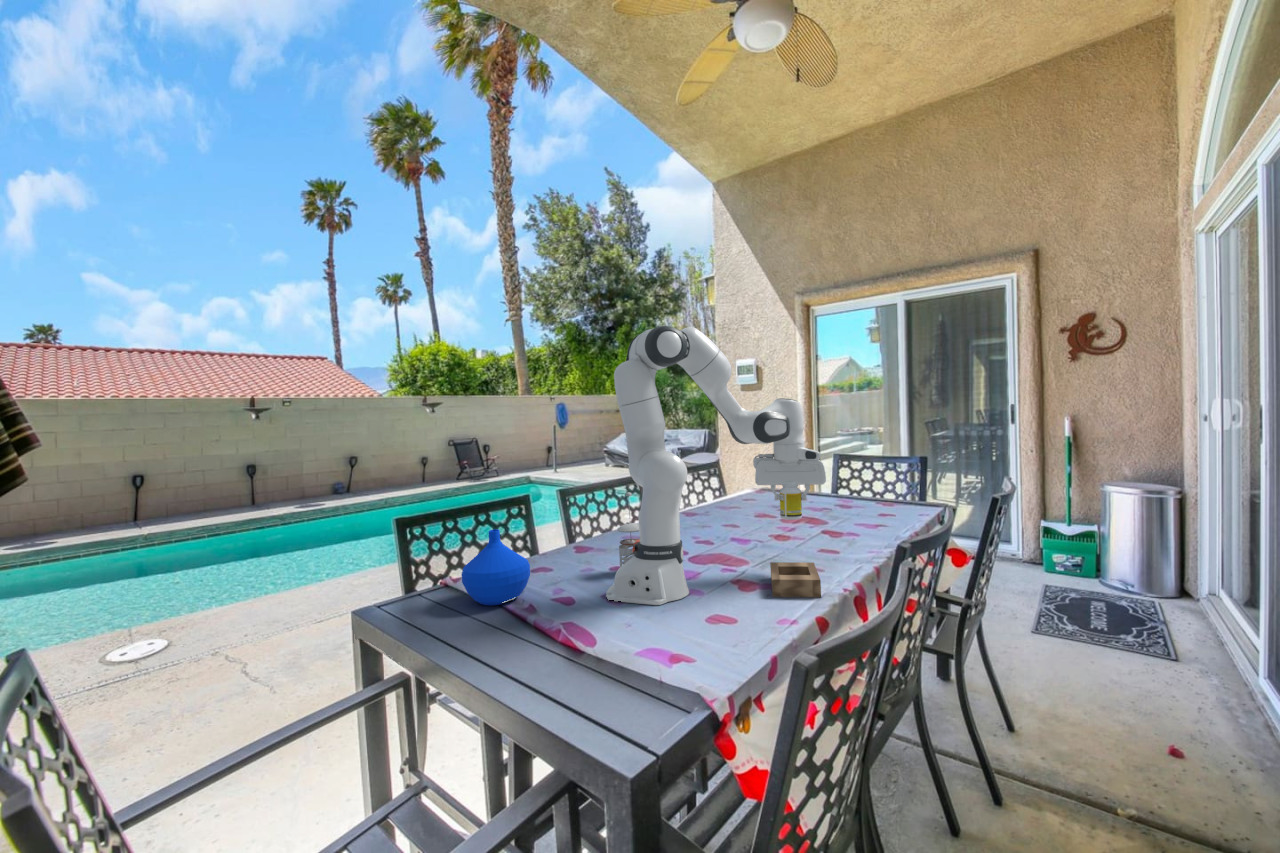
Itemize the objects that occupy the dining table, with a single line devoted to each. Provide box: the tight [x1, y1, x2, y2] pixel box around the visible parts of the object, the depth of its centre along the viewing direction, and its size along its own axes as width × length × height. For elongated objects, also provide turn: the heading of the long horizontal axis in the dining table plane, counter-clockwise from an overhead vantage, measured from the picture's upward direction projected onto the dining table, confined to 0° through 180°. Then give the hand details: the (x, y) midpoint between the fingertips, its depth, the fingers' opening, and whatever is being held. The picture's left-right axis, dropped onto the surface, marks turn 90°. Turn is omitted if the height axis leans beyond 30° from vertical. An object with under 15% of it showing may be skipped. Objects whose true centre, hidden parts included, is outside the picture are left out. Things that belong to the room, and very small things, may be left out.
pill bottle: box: [779, 482, 803, 521], centre depth 162 cm, size 6×6×11 cm
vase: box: [461, 528, 531, 606], centre depth 151 cm, size 18×18×19 cm
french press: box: [616, 491, 640, 568], centre depth 170 cm, size 10×12×25 cm
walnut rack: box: [769, 561, 822, 598], centre depth 148 cm, size 12×16×4 cm
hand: (790, 499), depth 162 cm, fingers closed on pill bottle, 6 cm apart
